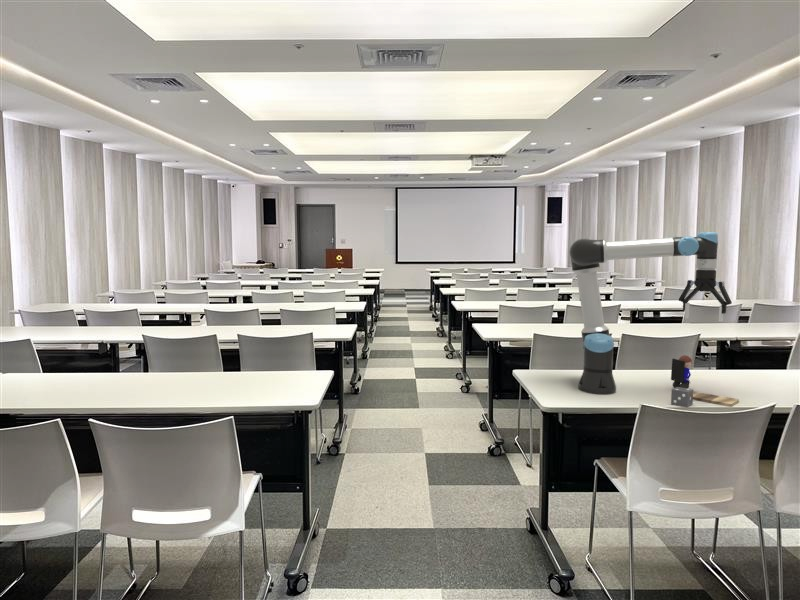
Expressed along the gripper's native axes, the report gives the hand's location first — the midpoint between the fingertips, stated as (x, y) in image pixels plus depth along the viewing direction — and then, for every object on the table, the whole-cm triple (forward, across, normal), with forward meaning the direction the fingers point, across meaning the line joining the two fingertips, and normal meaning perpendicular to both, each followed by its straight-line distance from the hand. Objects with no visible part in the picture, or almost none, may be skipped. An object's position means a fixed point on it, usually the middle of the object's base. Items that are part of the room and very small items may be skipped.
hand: (703, 319), depth 245 cm
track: (+30, +7, -13) cm, 34 cm away
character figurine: (+30, -6, -6) cm, 32 cm away
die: (+30, +4, -28) cm, 42 cm away
